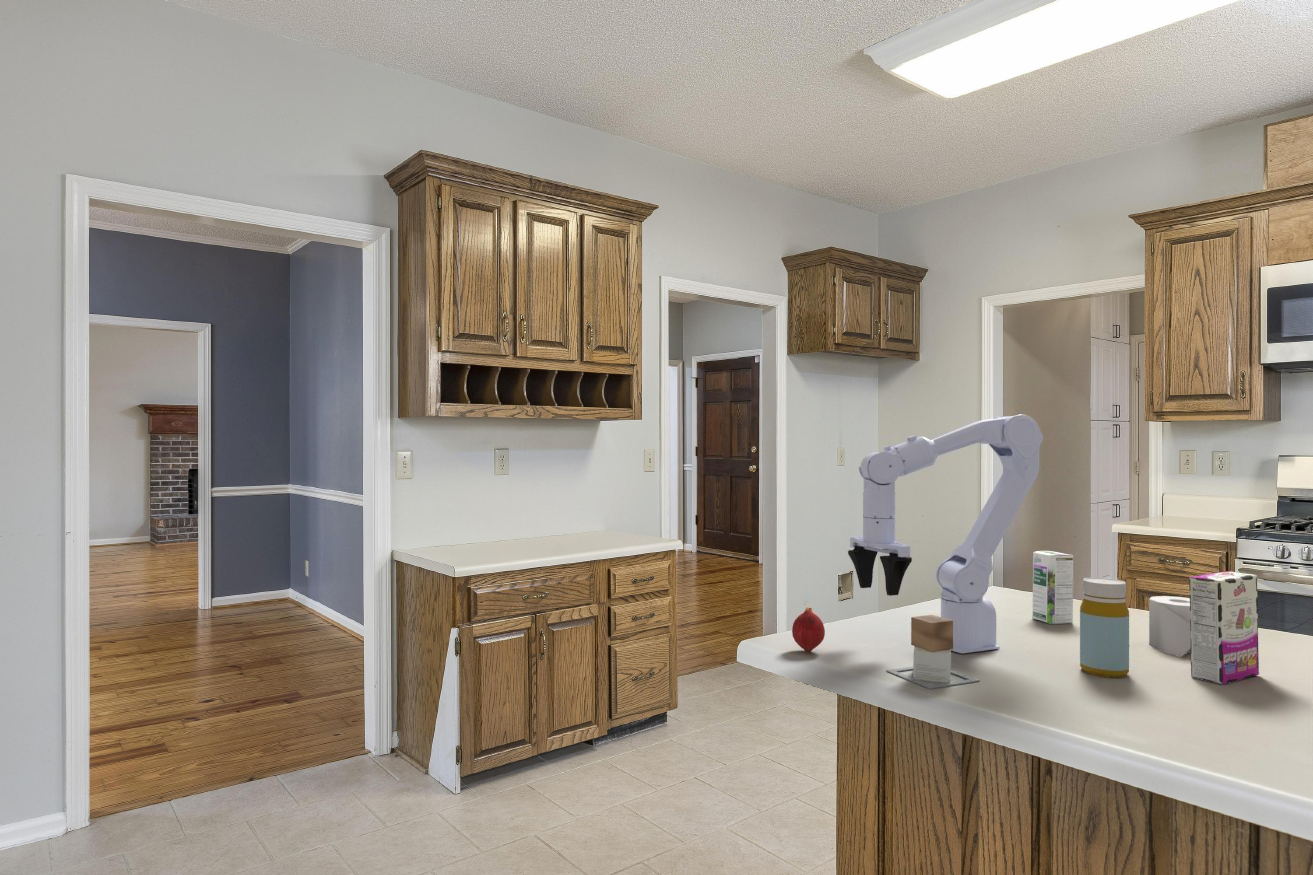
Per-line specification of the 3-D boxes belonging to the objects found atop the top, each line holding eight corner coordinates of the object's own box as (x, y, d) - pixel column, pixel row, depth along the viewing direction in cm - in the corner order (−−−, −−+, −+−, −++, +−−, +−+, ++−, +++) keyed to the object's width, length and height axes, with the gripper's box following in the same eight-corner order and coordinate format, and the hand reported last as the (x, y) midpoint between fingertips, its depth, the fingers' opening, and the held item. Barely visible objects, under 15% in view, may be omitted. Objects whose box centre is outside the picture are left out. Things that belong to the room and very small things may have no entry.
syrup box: (1031, 618, 168) (1031, 550, 168) (1054, 617, 169) (1054, 550, 169) (1050, 624, 162) (1050, 554, 162) (1074, 623, 164) (1074, 553, 164)
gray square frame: (933, 664, 132) (933, 663, 132) (979, 681, 123) (979, 680, 123) (886, 671, 128) (886, 670, 128) (929, 689, 119) (929, 687, 119)
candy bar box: (1225, 668, 131) (1225, 570, 131) (1260, 675, 127) (1260, 574, 127) (1187, 676, 126) (1187, 575, 126) (1221, 685, 122) (1221, 580, 122)
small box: (951, 684, 122) (951, 652, 122) (912, 680, 124) (912, 649, 124) (951, 674, 127) (951, 644, 127) (914, 670, 129) (914, 640, 129)
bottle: (1123, 668, 131) (1123, 578, 131) (1133, 680, 124) (1133, 585, 124) (1076, 664, 133) (1076, 576, 133) (1084, 676, 126) (1084, 583, 126)
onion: (824, 657, 137) (825, 611, 137) (791, 655, 138) (791, 609, 138) (824, 648, 143) (824, 604, 143) (792, 646, 144) (792, 603, 144)
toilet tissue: (1181, 659, 136) (1181, 610, 136) (1139, 640, 150) (1139, 595, 150) (1235, 660, 136) (1235, 611, 136) (1189, 641, 149) (1189, 596, 149)
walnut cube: (932, 641, 129) (932, 614, 129) (953, 648, 125) (953, 620, 125) (911, 644, 127) (911, 617, 127) (931, 651, 123) (931, 622, 123)
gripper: (837, 514, 149) (836, 585, 149) (887, 521, 136) (887, 600, 136) (867, 513, 152) (867, 583, 152) (919, 520, 139) (919, 597, 139)
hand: (878, 591), depth 144 cm, fingers open, 7 cm apart
